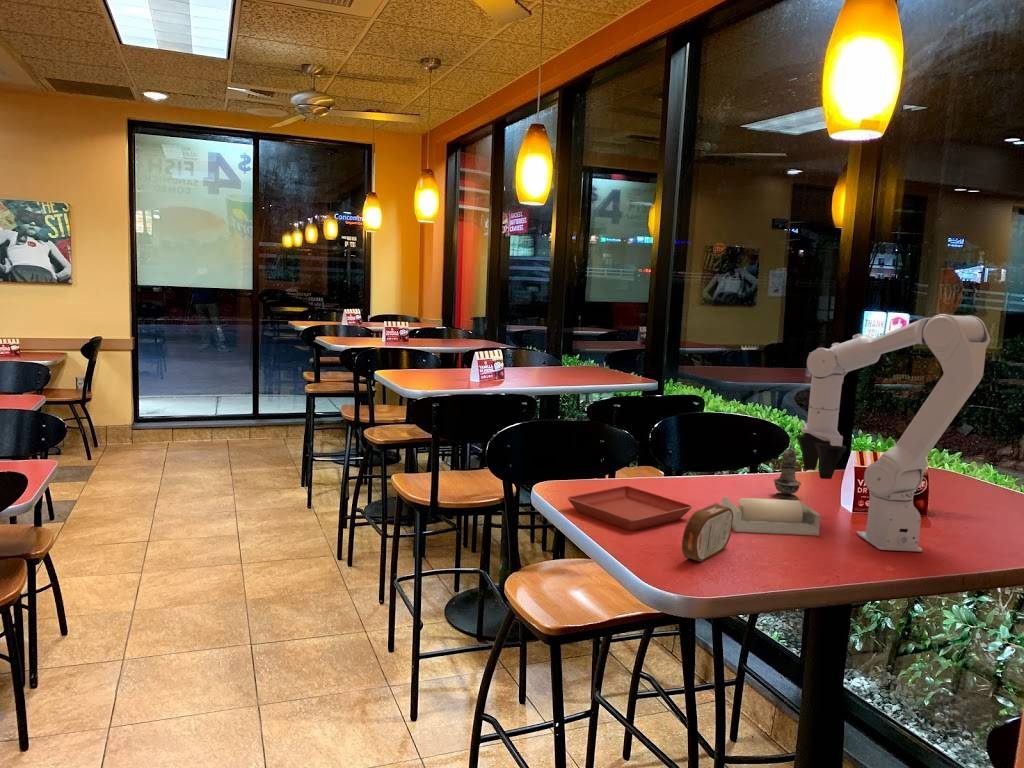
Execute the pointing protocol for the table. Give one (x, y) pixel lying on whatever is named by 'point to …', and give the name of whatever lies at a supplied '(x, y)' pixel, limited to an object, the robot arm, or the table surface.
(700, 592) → the table surface
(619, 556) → the table surface
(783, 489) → the rusty metal finial
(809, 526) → the cradle
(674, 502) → the plant saucer
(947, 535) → the table surface
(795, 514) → the roll
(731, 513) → the tin
